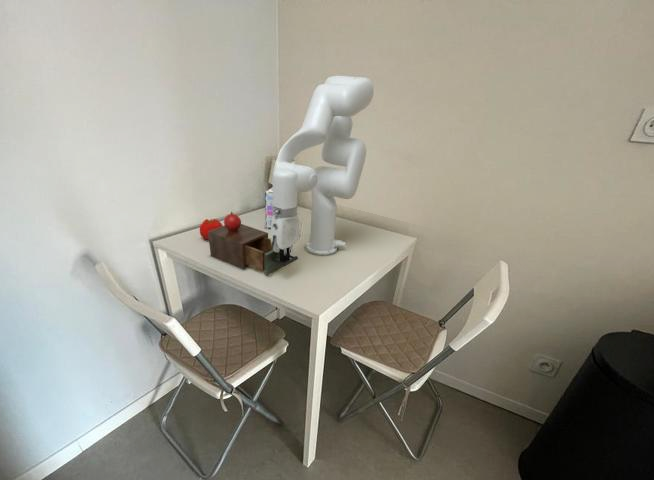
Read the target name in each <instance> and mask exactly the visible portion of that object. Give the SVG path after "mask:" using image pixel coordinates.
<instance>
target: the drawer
mask: <svg viewBox="0 0 654 480" xmlns="http://www.w3.org/2000/svg"><path fill="white" fill-rule="evenodd" d="M244 255H245V265H247V266H250V267H249V268H252V269H255V270H258V271H259V272H262V273H264V276H266V277H269V276H270V275H272V274H274V273H276V272H277V271H279V270H281V269H282V268H286V267H287V266H289V265H290V264H292V263H294V262H296V261H297V260H299V256H297V255H295V256H294V255H292V254H290V259H289V260H287V261H286V262H284V263H283V262H280V253H278V252H277V253H276V252H273V246H272V245H271V237H270V238H269V237H268V238H267V237H263V238H260V239H258V240H256V241H253V242H251V243H249V244H247V245H244Z"/></svg>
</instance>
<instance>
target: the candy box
mask: <svg viewBox="0 0 654 480" xmlns="http://www.w3.org/2000/svg"><path fill="white" fill-rule="evenodd" d="M264 193H265V195H264V197H265V199H264V201H265V228H266V229H271V224H272V217H273V186H272V187H271V188H269V189H267V190H266V191H265V192H264Z"/></svg>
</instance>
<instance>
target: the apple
mask: <svg viewBox="0 0 654 480" xmlns="http://www.w3.org/2000/svg"><path fill="white" fill-rule="evenodd" d="M241 224H242V219H241V218H240V216H239V215H237V214H235V213H233V211H231V212H230V213H229V214H227V215H226V216H225V217H224V219H223V226H224V225H225V227H226V228H227V229H228V230H229V231H230V232H236V231H238V229H239V228H240V226H241Z"/></svg>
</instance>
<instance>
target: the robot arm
mask: <svg viewBox="0 0 654 480" xmlns="http://www.w3.org/2000/svg"><path fill="white" fill-rule="evenodd" d="M373 98H374V85H373V82H372V80H371V79H369V78H368V77H365V76H364V77H363V76H351V75H350V76H349V75H332V76H328V77H327V78H326V80H325V81H324V83H322V84H319V85H317V86H316V88H315V89H314V91H313V93H312V96H311V99H310V102H309V105H308V107H307V110H306V114H305V116H304V119H303V122H302V125H301V127H300V129H299V130H298V131H297V132H295V133H294V134H293V135H291V137H289V138H288V139H287V140H286V141H285V142H284V143H283V145H282V146H281V148H280V149H279V152H278V154H277V157H276V160H275V163H274V167H273V170H272V178H271V179H272V187H273V217H272V224H271V228H270V239H271V245H272V246H273V252H276V253H277V252H278V253H280V262H283V263H284V262H286V261H287V260H289V259H291V258H290V255H291V253H292V248H293V246H295V245H296V244H298V243H299V242H300V240H301V227H300V225H301V224H300V218H299V213H298V194H299V193H308V192H310V191H311V211H310V213H311V216H310V218H311V219H310V233H309V235H310V236H309V241H308V242H307V243H306V244H305V249H306V251H308V252H309V253H311V254H314V255H318V256H328V255H332V254H335V253H336V252H337V251H338V247H343V248H345V247H346V241H343V240H342V239H336V237H335V233H336V221H337V211H338V210H337V209H338V206H337V202H336V198H338V199H342V200H343V199H344V200H351V199H352V198H353V197H354V196H355V195H356V192H357V191H358V188H359V184H360V180H361V177H362V172H363V169H364V166H365V161H366V156H367V147H366V144H365V142H364V141H363V140H362V139H360V138H356V137H355V138H354V137H351V134H352V130H353V120H352V119H353V118H352V117H354V116H356V115H357V114H359V113H360V112H362V111H363V110H365V109H367V107H369V105H370V104H371V102H372V100H373ZM320 145H322V148H321V159H322V160H323V162H325V163H326V164H330V165H334V166H340V167H344V168H345V167H346V169H340V168H336V167H332V166H331V167H330V166H325V165H324V166H317V167H315V168H312V167H311V166H307V165H304V164H303V165H302V164H298V163H293V161H294V159H295V158H296V156H298V155H299V154H300V153H302V152H303V151H305V150H308V149H310V148H313V147H316V146H320Z"/></svg>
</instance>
